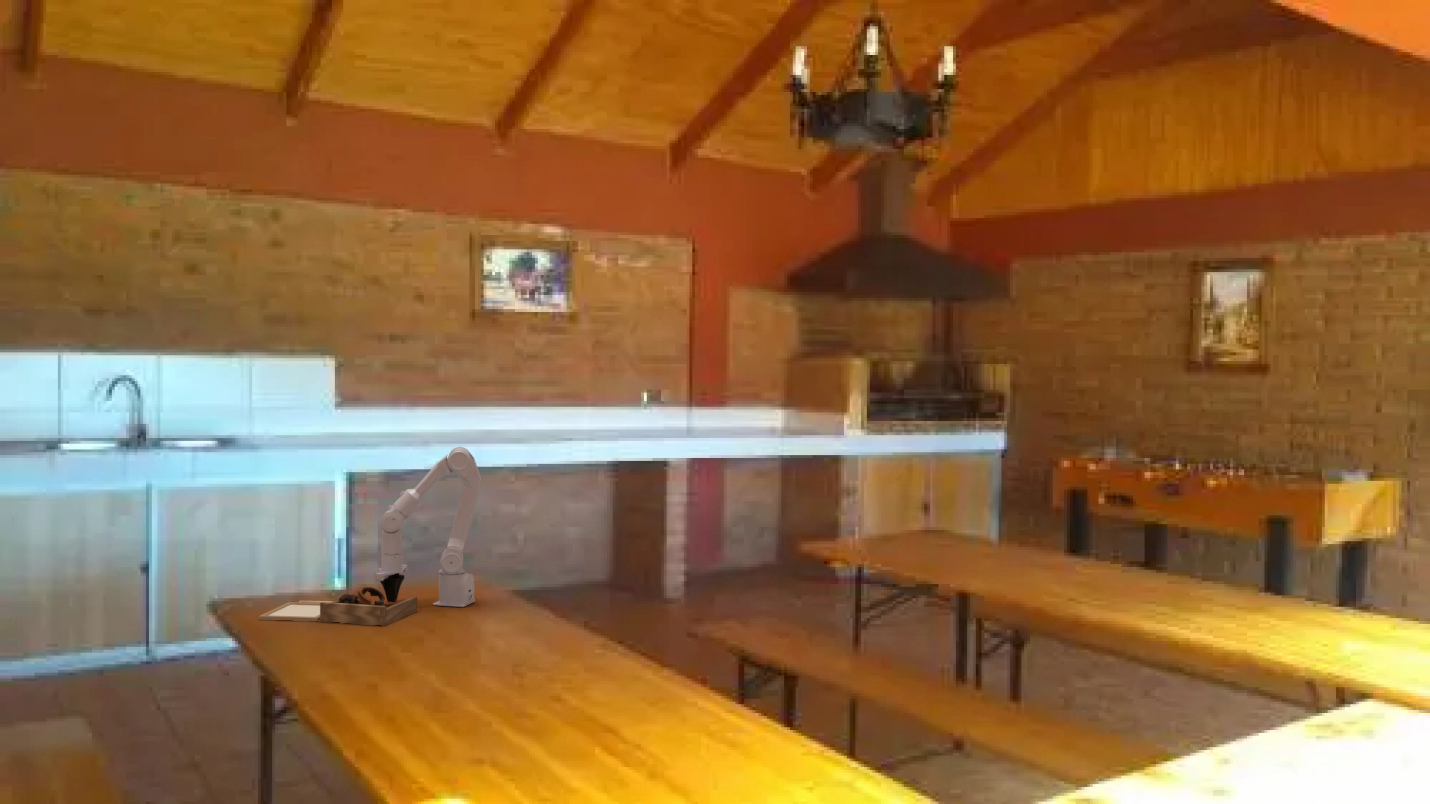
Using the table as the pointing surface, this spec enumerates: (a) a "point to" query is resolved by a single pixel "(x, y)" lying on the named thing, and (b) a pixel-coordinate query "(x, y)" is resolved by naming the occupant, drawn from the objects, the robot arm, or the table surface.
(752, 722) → the table surface
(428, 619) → the table surface
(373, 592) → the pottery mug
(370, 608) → the wooden tray
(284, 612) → the lid
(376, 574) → the robot arm
